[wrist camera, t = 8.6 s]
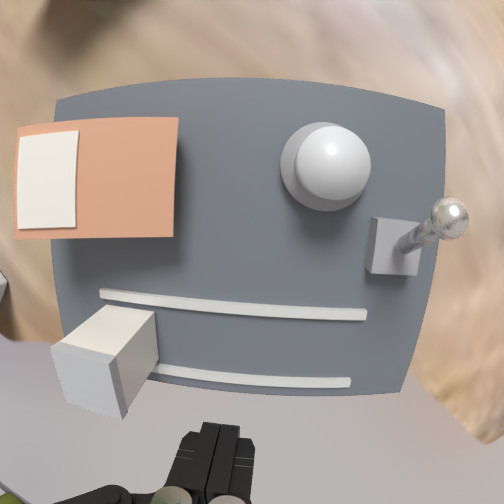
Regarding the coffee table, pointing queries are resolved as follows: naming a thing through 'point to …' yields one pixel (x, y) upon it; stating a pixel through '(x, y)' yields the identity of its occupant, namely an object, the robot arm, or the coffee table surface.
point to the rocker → (95, 178)
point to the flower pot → (9, 499)
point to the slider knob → (107, 359)
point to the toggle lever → (437, 225)
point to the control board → (270, 239)
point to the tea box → (2, 286)
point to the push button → (332, 163)
